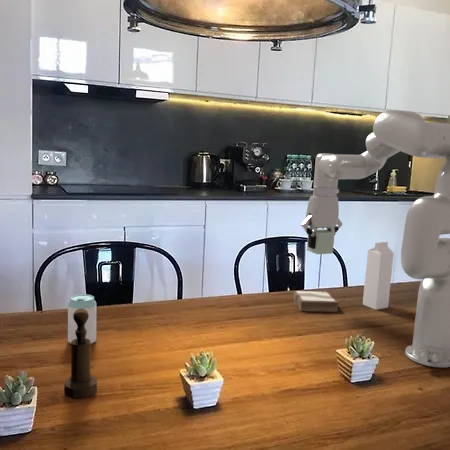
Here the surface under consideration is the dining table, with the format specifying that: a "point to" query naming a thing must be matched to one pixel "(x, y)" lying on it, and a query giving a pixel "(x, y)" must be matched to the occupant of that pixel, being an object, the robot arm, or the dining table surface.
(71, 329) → the can
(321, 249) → the block
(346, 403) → the dining table surface
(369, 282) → the milk
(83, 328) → the dark brown tall piece
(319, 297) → the plinth
